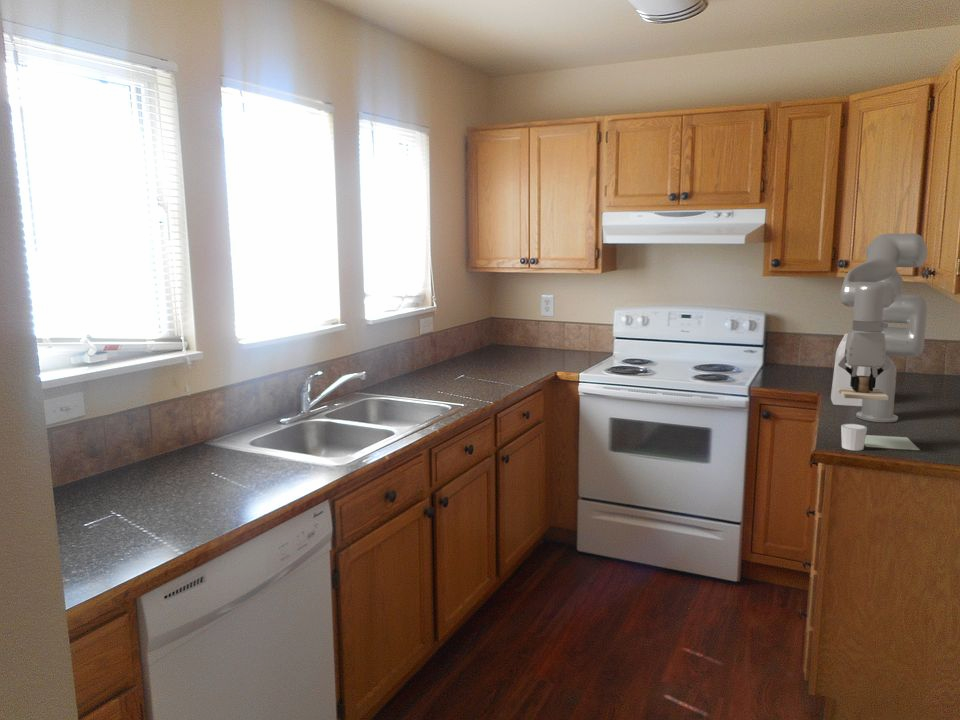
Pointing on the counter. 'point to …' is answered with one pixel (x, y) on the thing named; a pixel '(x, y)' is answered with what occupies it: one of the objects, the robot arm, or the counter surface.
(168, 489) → the counter surface
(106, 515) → the counter surface
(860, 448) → the white cup
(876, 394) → the lid
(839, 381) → the milk
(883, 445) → the mat
